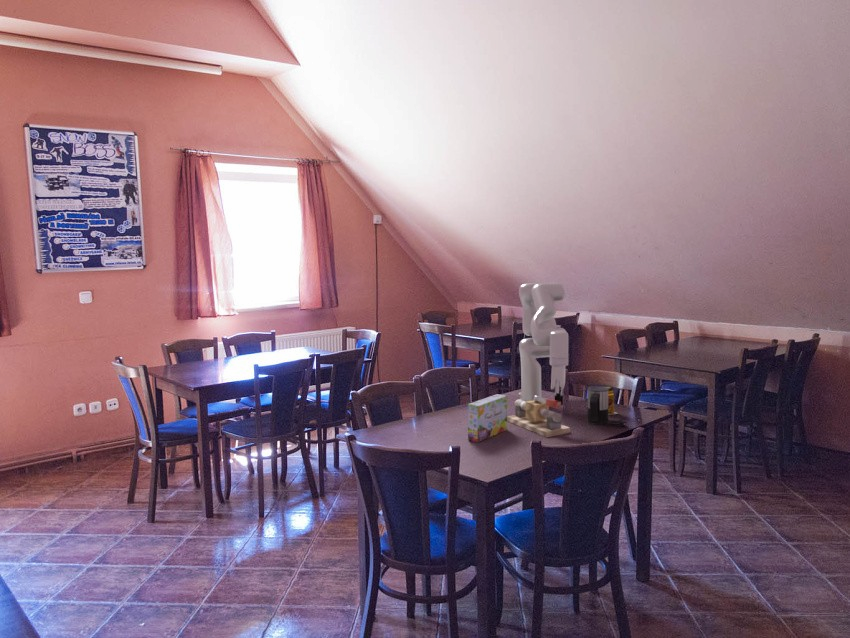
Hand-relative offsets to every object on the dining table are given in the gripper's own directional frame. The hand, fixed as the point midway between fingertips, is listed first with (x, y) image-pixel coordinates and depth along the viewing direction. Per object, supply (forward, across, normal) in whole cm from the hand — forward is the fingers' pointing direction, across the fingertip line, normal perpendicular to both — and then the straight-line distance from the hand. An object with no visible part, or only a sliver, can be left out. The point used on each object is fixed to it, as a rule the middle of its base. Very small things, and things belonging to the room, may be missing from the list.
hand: (558, 404), depth 263 cm
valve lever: (0, 0, -5) cm, 5 cm away
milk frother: (+11, -14, +18) cm, 26 cm away
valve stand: (+11, -4, -9) cm, 15 cm away
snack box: (+11, +13, -27) cm, 32 cm away
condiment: (+12, -32, +18) cm, 38 cm away
